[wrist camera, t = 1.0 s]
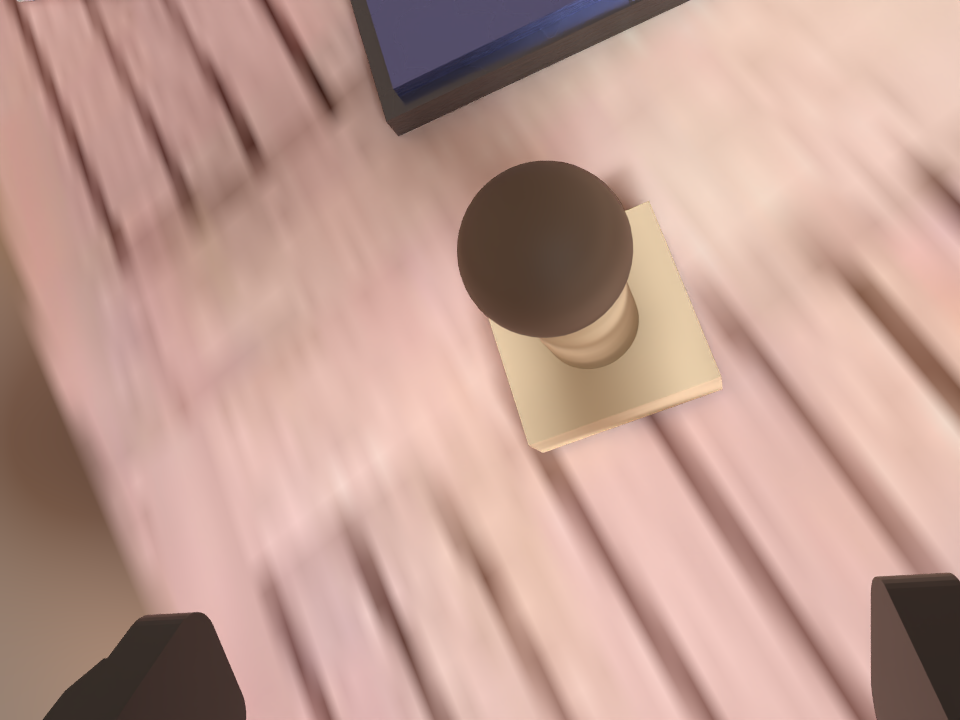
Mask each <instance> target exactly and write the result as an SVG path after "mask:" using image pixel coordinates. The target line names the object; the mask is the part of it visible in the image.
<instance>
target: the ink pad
mask: <svg viewBox="0 0 960 720" xmlns="http://www.w3.org/2000/svg"><path fill="white" fill-rule="evenodd" d="M687 1H689V0H351V3H352V7H353V10H354V14H355V17H356V20H357V24H358V27H359V30H360V34H361V37H362V40H363V44H364V47H365V51H366V54H367V57H368V61H369V64H370V67H371V71H372V74H373V78H374V81H375V84H376V88H377V91H378V94H379V98H380V101H381V104H382V108H383V111H384V115H385V118H386V121H387V123H388V124H389V125H390V126H391V128H392V129H393V130H394V131H395V132H396V134H397V135H398V136H400V135H402V134H404V133H406V132H408V131H410V130H412V129H415V128H417V127H419V126H421V125H423V124H425V123H427V122H430V121H432V120H434V119H436V118H438V117H440V116H442V115H445V114H447V113H449V112H451V111H453V110H455V109H457V108H460V107H462V106H464V105H466V104H468V103H470V102H473V101H475V100H477V99H479V98H481V97H483V96H485V95H488V94H490V93H492V92H494V91H496V90H498V89H500V88H503V87H505V86H507V85H509V84H511V83H513V82H515V81H518V80H520V79H522V78H524V77H526V76H528V75H530V74H533V73H535V72H537V71H539V70H541V69H543V68H545V67H548V66H550V65H552V64H554V63H556V62H558V61H560V60H563V59H565V58H567V57H569V56H571V55H573V54H575V53H578V52H580V51H582V50H584V49H586V48H588V47H590V46H593V45H595V44H597V43H599V42H601V41H603V40H605V39H608V38H610V37H612V36H614V35H616V34H618V33H620V32H623V31H625V30H627V29H629V28H631V27H633V26H635V25H638V24H640V23H642V22H644V21H646V20H648V19H650V18H653V17H655V16H657V15H659V14H661V13H663V12H665V11H668V10H670V9H672V8H674V7H676V6H678V5H680V4H683V3H685V2H687Z"/></svg>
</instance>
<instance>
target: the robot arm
mask: <svg viewBox="0 0 960 720" xmlns="http://www.w3.org/2000/svg"><path fill="white" fill-rule="evenodd" d="M871 687H872V696H873V703H874V709H875V714H876V718H877V720H960V581H959V580H958V579H957V578H956V576H955V575H953V574H952V573H935V574H916V575H898V576H880V577H874V579H873V581H872V586H871ZM43 720H246V707H245V701H244V698H243V695H242V692H241V690H240V688H239V685H238V683H237V680H236V678H235V676H234V673H233V671H232V669H231V666H230V664H229V662H228V659H227V657H226V655H225V652H224V650H223V647H222V645H221V643H220V640H219V638H218V636H217V633H216V631H215V629H214V626H213V624H212V622H211V620H210V619H209V618H208V617H207V616H206V615H205V614H203V613H200V612H192V613H174V614H156V615H146V616H143V617H141V618H139V619H138V620H137V621H136V622H135V623H134V624H133V625H132V626H131V627H130V629H129V630H128V631H127V633H126V634H125V635H124V637H123V638H122V639H121V641H120V642H119V643H118V645H117V646H116V647H115V649H114V650H113V651H112V653H111V654H110V655H109V657H108V658H106V659H103V660H101V661H100V662H99V663H98V664H97V665H95V666H94V667H93V668H92V669H91V670H90V671H88V672H87V673H86V674H85V675H84V676H82V677H81V678H80V679H79V680H78V681H76V682H75V683H74V684H73V685H72V686H70V687H69V688H68V689H67V690H66V691H65V692H64V693H63V694H62V696H61V697H60V698H59V699H58V701H57V702H56V703H55V704H54V706H53V707H52V708H51V710H50V711H49V712H48V713H47V715H46V716H45V717H44V719H43Z"/></svg>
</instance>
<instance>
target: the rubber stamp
mask: <svg viewBox="0 0 960 720" xmlns="http://www.w3.org/2000/svg"><path fill="white" fill-rule="evenodd" d="M457 257H458V266H459V270H460V275H461V277H462V280H463V283H464V285H465V288H466V290H467V292H468V294H469V295H470V297H471V299H472V300H473V301H474V303H475V304H476V305H477V306H478V308H479V309H480V310H481V311H482V312H483V313H484V314H485V315H486V316H487V317H488V319H489V322H490V325H491V328H492V331H493V334H494V337H495V341H496V344H497V347H498V350H499V353H500V356H501V360H502V363H503V366H504V369H505V372H506V375H507V378H508V382H509V385H510V388H511V391H512V394H513V397H514V401H515V404H516V407H517V410H518V413H519V416H520V420H521V423H522V426H523V429H524V432H525V435H526V438H527V442H528V445H529V446H531V447H533V448H535V449H536V450H538V451H540V452H542V453H544V452H547V451H550V450H553V449H555V448H558V447H561V446H564V445H567V444H569V443H572V442H575V441H578V440H581V439H584V438H586V437H589V436H592V435H595V434H598V433H600V432H603V431H606V430H609V429H612V428H615V427H617V426H620V425H623V424H626V423H629V422H632V421H634V420H637V419H640V418H643V417H646V416H648V415H651V414H654V413H657V412H660V411H663V410H665V409H668V408H671V407H674V406H677V405H679V404H682V403H685V402H688V401H691V400H694V399H696V398H699V397H702V396H705V395H708V394H711V393H713V392H716V391H719V390H722V378H721V375H720V372H719V370H718V367H717V365H716V362H715V360H714V358H713V355H712V353H711V350H710V348H709V345H708V343H707V341H706V338H705V336H704V333H703V331H702V328H701V326H700V324H699V321H698V319H697V316H696V314H695V311H694V309H693V307H692V304H691V302H690V299H689V297H688V294H687V292H686V290H685V287H684V285H683V282H682V280H681V277H680V275H679V273H678V270H677V268H676V265H675V263H674V260H673V258H672V256H671V253H670V251H669V248H668V246H667V243H666V241H665V239H664V236H663V234H662V231H661V229H660V226H659V224H658V222H657V219H656V217H655V214H654V212H653V210H652V207H651V205H650V202H649V201H648V202H645V203H643V204H641V205H638V206H636V207H633V208H631V209H629V210H626V211H625V210H624V208H623V206H622V204H621V202H620V201H619V199H618V198H617V197H616V195H615V194H614V193H613V191H612V190H611V189H610V188H609V187H608V186H607V185H606V184H605V183H604V182H603V181H601V180H600V179H599V178H598V177H596V176H595V175H593V174H592V173H590V172H588V171H586V170H584V169H582V168H580V167H577V166H575V165H572V164H568V163H564V162H557V161H535V162H528V163H524V164H520V165H518V166H515V167H512V168H510V169H508V170H506V171H504V172H502V173H500V174H499V175H497V176H496V177H494V178H493V179H492V180H491V181H489V182H488V183H487V184H486V185H485V186H484V187H483V188H482V189H481V190H480V191H479V192H478V193H477V195H476V196H475V197H474V199H473V200H472V202H471V203H470V205H469V207H468V208H467V211H466V213H465V215H464V217H463V220H462V223H461V227H460V230H459V235H458V243H457Z"/></svg>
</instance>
